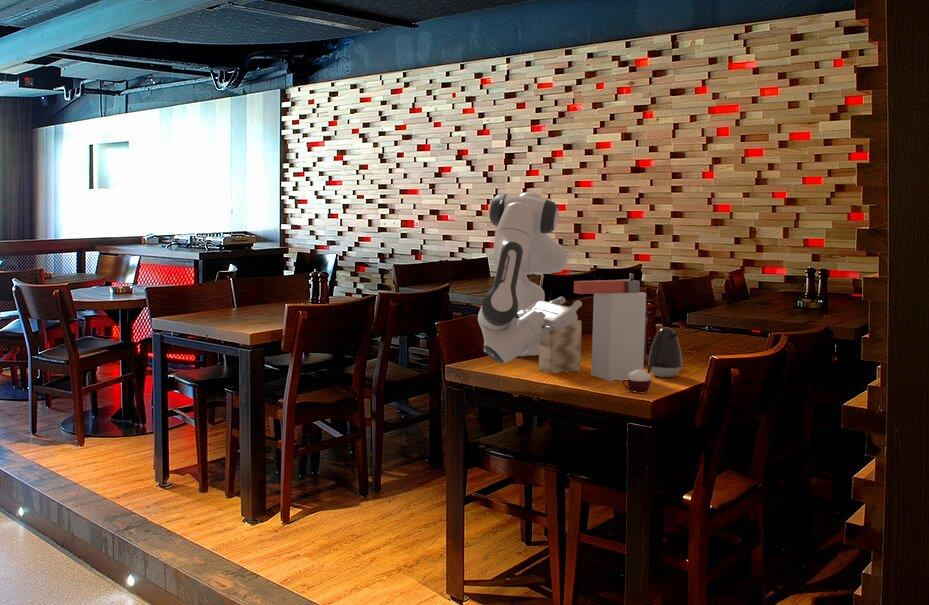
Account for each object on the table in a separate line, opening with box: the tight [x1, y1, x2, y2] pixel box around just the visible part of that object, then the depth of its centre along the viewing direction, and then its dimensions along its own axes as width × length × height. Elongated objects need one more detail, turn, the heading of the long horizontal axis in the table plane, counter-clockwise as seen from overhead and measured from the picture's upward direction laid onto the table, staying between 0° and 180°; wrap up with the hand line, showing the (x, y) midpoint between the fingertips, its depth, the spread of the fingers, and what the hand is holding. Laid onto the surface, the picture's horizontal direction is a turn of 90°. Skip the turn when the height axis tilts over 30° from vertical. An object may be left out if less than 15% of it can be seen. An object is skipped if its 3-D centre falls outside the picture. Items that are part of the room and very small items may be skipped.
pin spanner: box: [573, 273, 641, 295], centre depth 257 cm, size 20×6×6 cm, turn 113°
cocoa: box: [622, 349, 658, 393], centre depth 241 cm, size 10×6×12 cm, turn 65°
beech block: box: [538, 319, 583, 374], centre depth 271 cm, size 11×7×16 cm, turn 113°
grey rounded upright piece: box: [647, 326, 683, 378], centre depth 264 cm, size 10×10×15 cm
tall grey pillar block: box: [590, 291, 647, 382], centre depth 261 cm, size 12×10×26 cm
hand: (571, 300), depth 253 cm, fingers open, 8 cm apart
